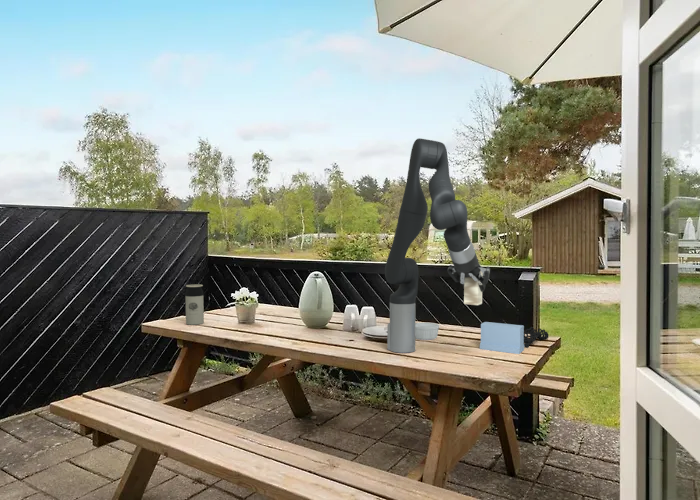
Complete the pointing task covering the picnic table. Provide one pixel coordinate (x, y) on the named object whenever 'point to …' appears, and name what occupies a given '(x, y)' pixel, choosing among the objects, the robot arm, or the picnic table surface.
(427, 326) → the ramekin
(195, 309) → the travel mug
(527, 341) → the decorative element
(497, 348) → the light blue rectangular block
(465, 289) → the birch post
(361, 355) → the picnic table surface
